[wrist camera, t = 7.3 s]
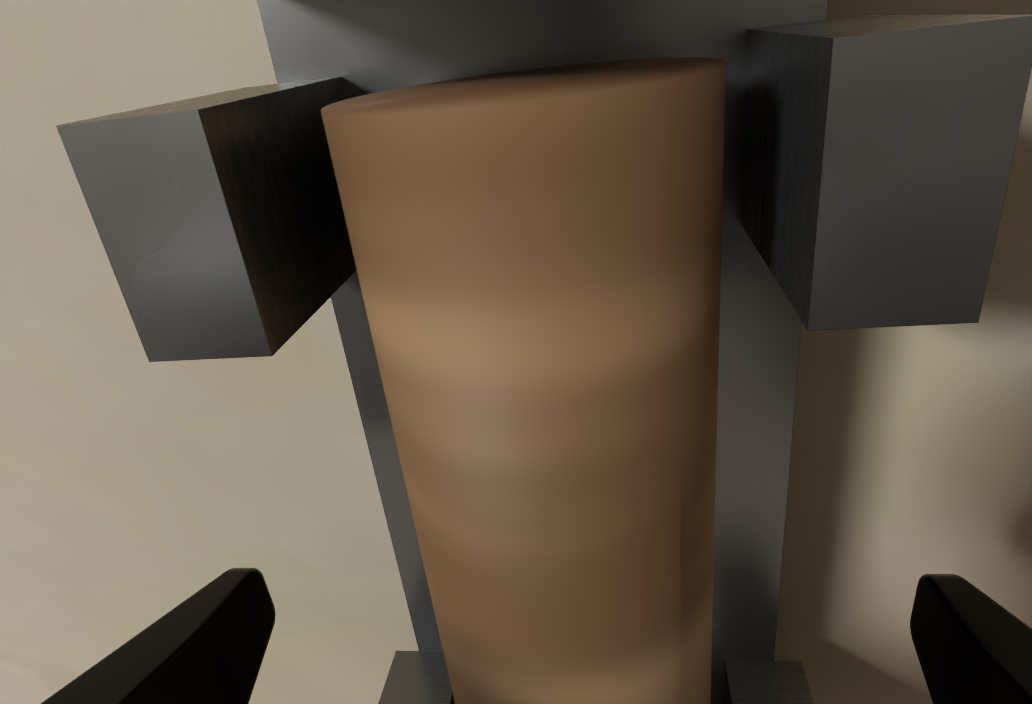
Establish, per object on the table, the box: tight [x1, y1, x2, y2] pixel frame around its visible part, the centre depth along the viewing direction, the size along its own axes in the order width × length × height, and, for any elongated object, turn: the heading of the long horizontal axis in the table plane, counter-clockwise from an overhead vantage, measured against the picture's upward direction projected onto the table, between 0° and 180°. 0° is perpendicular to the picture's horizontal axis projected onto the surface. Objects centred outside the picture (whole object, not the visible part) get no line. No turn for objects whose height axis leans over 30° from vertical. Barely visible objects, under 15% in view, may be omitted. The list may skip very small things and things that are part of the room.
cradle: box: [56, 0, 1032, 704], centre depth 10 cm, size 8×18×4 cm, turn 6°
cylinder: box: [321, 57, 726, 704], centre depth 10 cm, size 13×4×4 cm, turn 6°
